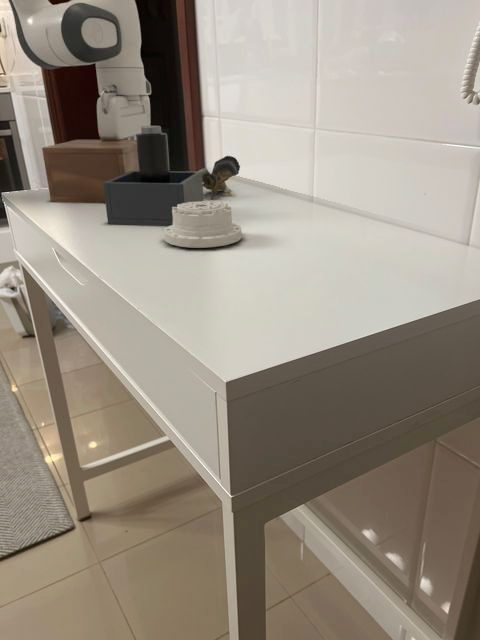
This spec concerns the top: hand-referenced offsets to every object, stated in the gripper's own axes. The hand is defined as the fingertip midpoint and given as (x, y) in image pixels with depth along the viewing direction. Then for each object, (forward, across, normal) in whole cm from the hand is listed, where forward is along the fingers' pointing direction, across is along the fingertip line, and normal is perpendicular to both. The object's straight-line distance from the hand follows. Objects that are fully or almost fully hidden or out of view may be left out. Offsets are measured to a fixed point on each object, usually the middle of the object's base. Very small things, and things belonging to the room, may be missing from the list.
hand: (129, 160), depth 113 cm
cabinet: (+4, -15, 0) cm, 16 cm away
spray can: (+3, -31, -15) cm, 35 cm away
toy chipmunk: (+4, -13, -21) cm, 25 cm away
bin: (+4, -31, -15) cm, 35 cm away
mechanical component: (+4, -44, -25) cm, 51 cm away
